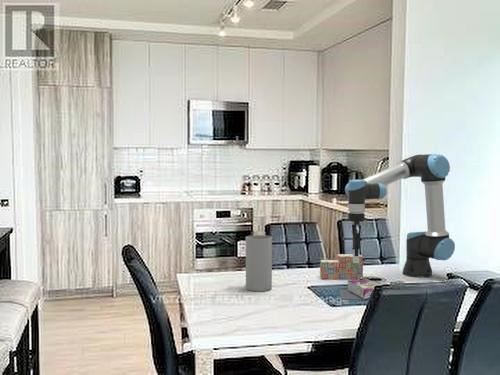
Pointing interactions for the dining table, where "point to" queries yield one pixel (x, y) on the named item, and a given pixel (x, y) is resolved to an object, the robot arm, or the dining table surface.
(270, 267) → the cylinder vase
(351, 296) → the mat
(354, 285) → the candy bar box
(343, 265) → the stack of blocks
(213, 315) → the dining table surface
